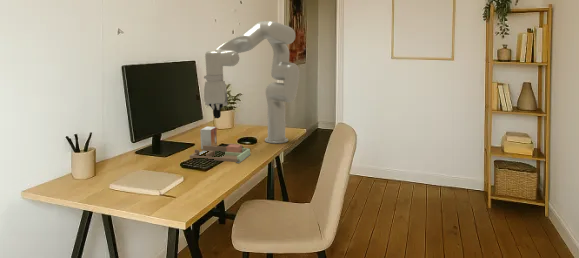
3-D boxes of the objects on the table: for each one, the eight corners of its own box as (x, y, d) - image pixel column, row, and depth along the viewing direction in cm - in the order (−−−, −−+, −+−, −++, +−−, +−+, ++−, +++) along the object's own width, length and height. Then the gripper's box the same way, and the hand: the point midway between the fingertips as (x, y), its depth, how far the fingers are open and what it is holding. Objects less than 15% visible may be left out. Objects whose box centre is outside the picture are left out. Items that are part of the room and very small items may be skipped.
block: (231, 154, 202) (231, 143, 201) (242, 154, 201) (242, 144, 200) (226, 157, 197) (226, 146, 196) (237, 157, 196) (237, 147, 195)
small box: (211, 150, 211) (210, 129, 209) (200, 150, 212) (200, 129, 210) (217, 146, 218) (216, 126, 216) (207, 146, 219) (206, 126, 217)
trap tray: (203, 151, 209) (203, 145, 209) (250, 154, 204) (250, 148, 203) (189, 159, 195) (189, 152, 194) (238, 163, 189) (238, 156, 189)
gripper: (196, 79, 194) (199, 118, 198) (227, 79, 190) (229, 120, 194) (203, 77, 201) (206, 115, 205) (233, 77, 197) (235, 116, 201)
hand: (217, 117), depth 200 cm, fingers closed
